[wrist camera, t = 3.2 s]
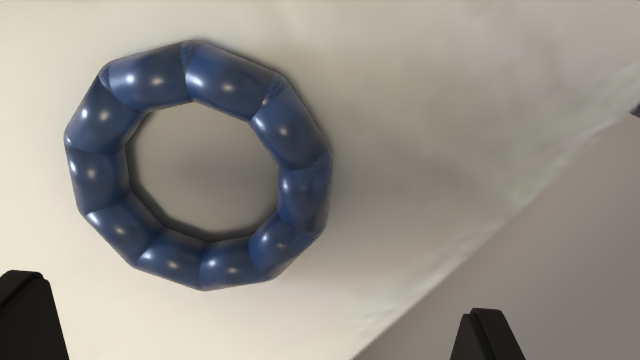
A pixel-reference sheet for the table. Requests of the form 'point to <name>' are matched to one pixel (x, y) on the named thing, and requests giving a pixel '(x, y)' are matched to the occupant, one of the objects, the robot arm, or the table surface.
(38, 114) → the table surface
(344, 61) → the table surface
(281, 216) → the ring
